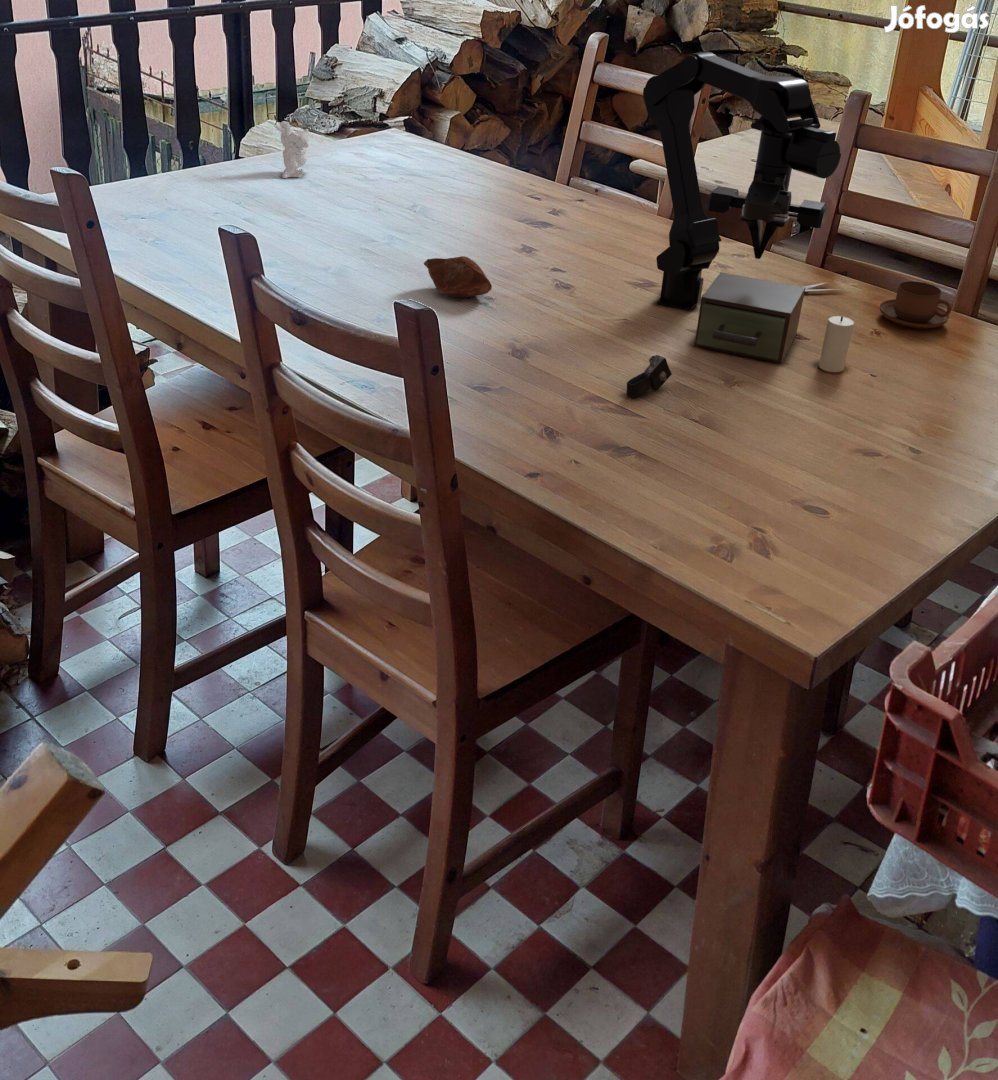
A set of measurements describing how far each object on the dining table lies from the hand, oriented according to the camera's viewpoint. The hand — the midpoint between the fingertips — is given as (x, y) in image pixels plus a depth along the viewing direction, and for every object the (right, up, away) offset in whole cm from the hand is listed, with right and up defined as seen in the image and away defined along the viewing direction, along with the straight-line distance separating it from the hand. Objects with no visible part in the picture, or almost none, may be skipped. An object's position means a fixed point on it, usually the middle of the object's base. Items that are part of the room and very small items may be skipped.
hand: (757, 258), depth 196 cm
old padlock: (-20, -24, -16) cm, 36 cm away
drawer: (-3, -14, 0) cm, 15 cm away
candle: (+11, -19, -4) cm, 22 cm away
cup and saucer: (+31, -8, +15) cm, 35 cm away
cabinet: (-1, -13, +3) cm, 14 cm away
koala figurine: (-90, +36, +74) cm, 122 cm away
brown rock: (-50, -3, +15) cm, 52 cm away
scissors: (+12, -1, +24) cm, 27 cm away
